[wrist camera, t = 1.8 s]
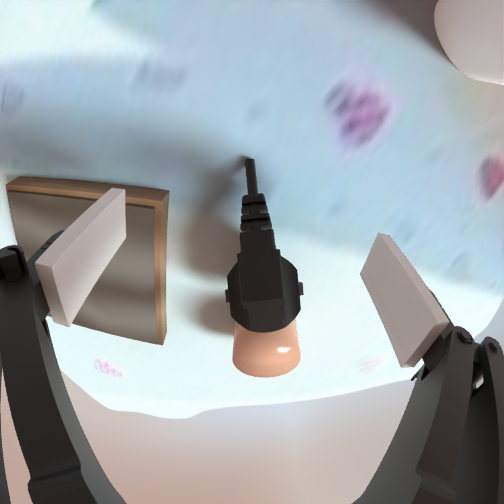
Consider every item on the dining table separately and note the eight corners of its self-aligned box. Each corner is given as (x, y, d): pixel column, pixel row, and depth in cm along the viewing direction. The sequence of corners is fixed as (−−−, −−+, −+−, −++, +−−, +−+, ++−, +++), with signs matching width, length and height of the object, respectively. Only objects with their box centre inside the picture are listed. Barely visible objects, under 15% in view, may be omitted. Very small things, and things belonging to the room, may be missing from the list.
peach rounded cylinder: (240, 293, 26) (237, 334, 22) (302, 302, 27) (309, 342, 23) (231, 335, 29) (228, 373, 25) (286, 341, 30) (289, 379, 26)
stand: (18, 176, 19) (3, 186, 17) (169, 191, 21) (160, 203, 19) (47, 302, 28) (38, 315, 26) (166, 331, 29) (162, 348, 27)
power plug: (290, 151, 18) (311, 334, 17) (286, 186, 26) (300, 317, 25) (207, 161, 19) (222, 342, 17) (225, 192, 26) (237, 323, 25)
